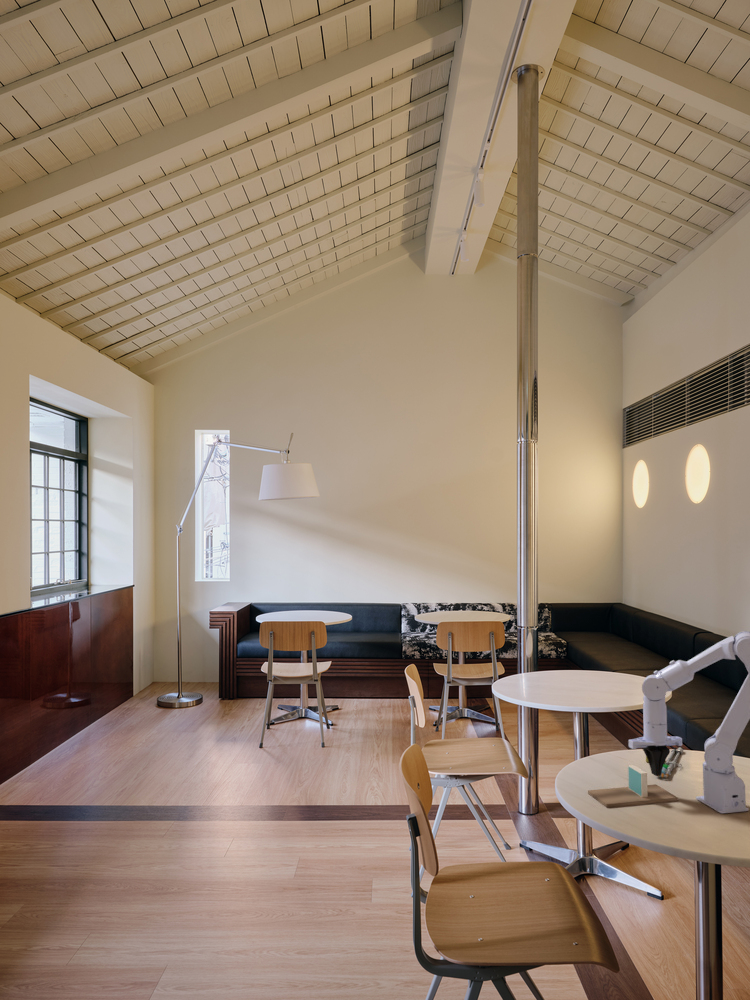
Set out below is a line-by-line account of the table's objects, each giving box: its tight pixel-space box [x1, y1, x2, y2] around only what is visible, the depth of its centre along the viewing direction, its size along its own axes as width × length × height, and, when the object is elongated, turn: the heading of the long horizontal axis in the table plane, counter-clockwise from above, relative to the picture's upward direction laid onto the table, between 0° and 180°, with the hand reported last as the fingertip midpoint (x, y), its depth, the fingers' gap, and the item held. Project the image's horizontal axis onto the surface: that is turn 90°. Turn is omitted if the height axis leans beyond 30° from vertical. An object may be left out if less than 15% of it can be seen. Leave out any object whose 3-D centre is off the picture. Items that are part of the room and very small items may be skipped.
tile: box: [627, 764, 648, 797], centre depth 171 cm, size 6×2×6 cm, turn 11°
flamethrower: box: [645, 746, 684, 778], centre depth 195 cm, size 29×3×10 cm
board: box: [587, 784, 679, 808], centre depth 170 cm, size 9×20×1 cm, turn 101°
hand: (656, 774), depth 173 cm, fingers closed
